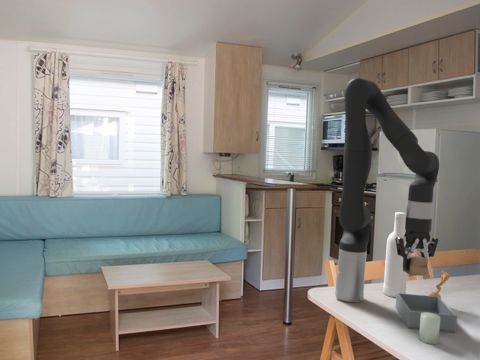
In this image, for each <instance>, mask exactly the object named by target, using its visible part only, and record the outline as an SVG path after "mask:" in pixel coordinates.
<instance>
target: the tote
mask: <svg viewBox="0 0 480 360" xmlns="http://www.w3.org/2000/svg"><path fill="white" fill-rule="evenodd" d="M395 309H396V311H397V312H398V314H399V316H400V318H401V319H402V320H403V322H404V323H405V325H406V327H407V328H408V329H413V330H420V318H421V313H423V312H429V313H434V314H437V315H439V316H440V329H439V332H442V333H443V332H444V333H445V332H446V333H452V334H453V333H455V334H456V331H457V330H456V329H457V322H458V321H457V319H458V315H456V314H455V312H454V311H453V310H452V309H451V308H450V307H449V306H448V305H447V304H446V303H445V302H444V301H443V300H442V298H441V299H440V298H439V297H438V296H429V295H425V294H413V293H406V294H403V293H397V295H396V298H395Z"/></svg>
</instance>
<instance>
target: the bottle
mask: <svg viewBox="0 0 480 360" xmlns="http://www.w3.org/2000/svg"><path fill="white" fill-rule="evenodd" d="M405 221H406V212H403V211H402V212H399V211H397V212H395V213H394V225H393V231H392V232H391V233H389V235H388V237H387V239H386V248H385V250H386V252H385V263H384V275H383V277H384V278H383V287H382V293H383V294H384V295H385V296H387V297H390V298H395V299H396V295H397V293H403V294H407V282H408V279H407V278H408V273H406V272H404V271H403V257H402V256H399V255H398V254H397V247H396V240H395V238H396V237H403V236H404V235H405V231H406V230H405ZM405 245H406V241H405V244H404V247H405Z"/></svg>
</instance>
